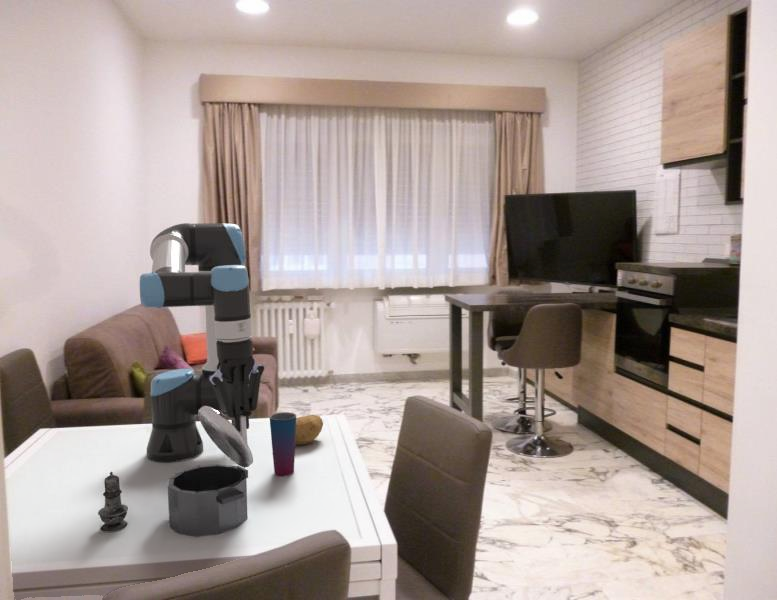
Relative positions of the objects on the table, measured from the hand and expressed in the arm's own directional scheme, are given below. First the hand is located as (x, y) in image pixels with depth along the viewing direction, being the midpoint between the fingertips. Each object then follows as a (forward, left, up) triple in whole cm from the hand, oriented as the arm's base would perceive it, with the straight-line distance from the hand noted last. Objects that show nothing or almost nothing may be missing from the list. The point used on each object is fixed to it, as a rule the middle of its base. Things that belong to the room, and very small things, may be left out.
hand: (241, 444), depth 134 cm
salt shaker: (-15, -22, -16) cm, 31 cm away
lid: (-4, -2, +1) cm, 4 cm away
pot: (-4, -6, -16) cm, 17 cm away
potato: (-29, +39, -16) cm, 51 cm away
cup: (-14, +21, -16) cm, 30 cm away
